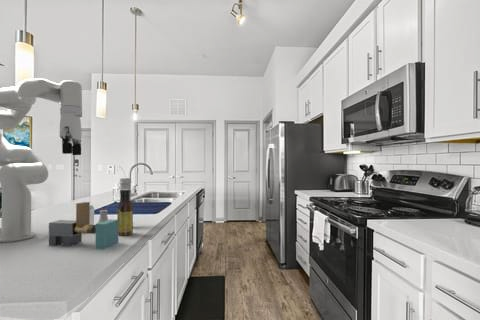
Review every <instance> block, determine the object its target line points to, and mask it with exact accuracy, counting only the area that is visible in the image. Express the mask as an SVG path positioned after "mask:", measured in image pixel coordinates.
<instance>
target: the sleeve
mask: <svg viewBox="0 0 480 320" xmlns="http://www.w3.org/2000/svg"><path fill="white" fill-rule="evenodd" d="M73 224H76V220H71V219H70V220H69V219H67V220H66V219H65V220H64V219H60V220H59V219H58V220H55V221H50V222H49V223H48V247H49V246H51V247H54V246H55V247H56V246H59V245H62V247H72V246H75V245H77V244H80V243H83V241H82V239H83V236H82V235H83V233H73Z"/></svg>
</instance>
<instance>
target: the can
mask: <svg viewBox="0 0 480 320" xmlns="http://www.w3.org/2000/svg"><path fill="white" fill-rule="evenodd" d="M89 225H95V207H94V205H93V204H90V219H89Z"/></svg>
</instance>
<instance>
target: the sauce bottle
mask: <svg viewBox="0 0 480 320" xmlns="http://www.w3.org/2000/svg"><path fill="white" fill-rule="evenodd" d="M120 194H121V195H120ZM120 196H121V198H120ZM116 211H117V214H116V215H117V219H116V220H119V224H118V236H121V237H122V236H124V237H125V236H130V235H132V234H133V230H134V210H133V203H132V201H131V188H130V189H121V190H120V189H119V203H118V206H117V209H116Z"/></svg>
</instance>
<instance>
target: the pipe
mask: <svg viewBox="0 0 480 320" xmlns="http://www.w3.org/2000/svg"><path fill="white" fill-rule="evenodd" d="M119 168H120V169H121V170H122V171H123V173H124V177H120V178H119V182H118V184H119V191H120V190H121V189H130V190H131V184H132V178H131V177H126V172H125V170H124V169H123V168H122V167H121V166H119ZM120 195H121V194H120V193H119V199H120V198H121V196H120Z"/></svg>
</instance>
